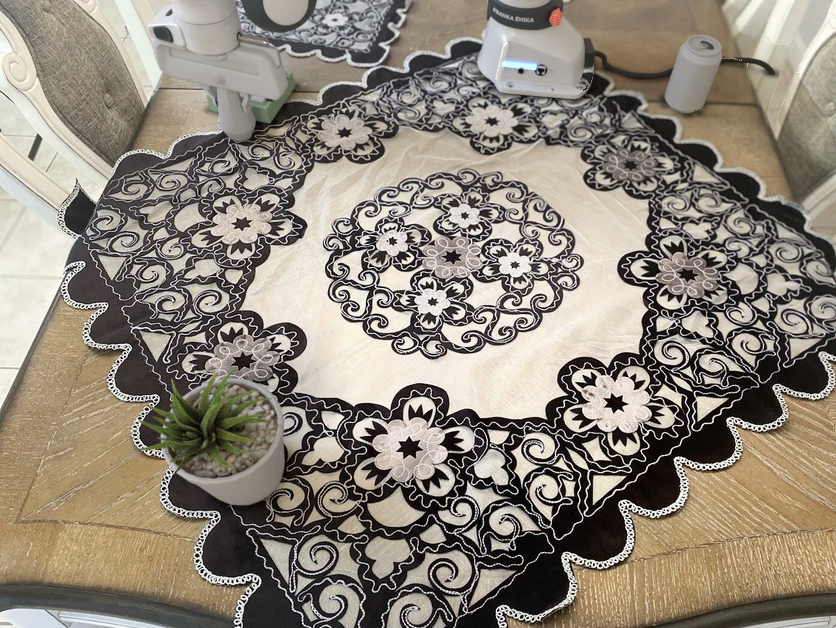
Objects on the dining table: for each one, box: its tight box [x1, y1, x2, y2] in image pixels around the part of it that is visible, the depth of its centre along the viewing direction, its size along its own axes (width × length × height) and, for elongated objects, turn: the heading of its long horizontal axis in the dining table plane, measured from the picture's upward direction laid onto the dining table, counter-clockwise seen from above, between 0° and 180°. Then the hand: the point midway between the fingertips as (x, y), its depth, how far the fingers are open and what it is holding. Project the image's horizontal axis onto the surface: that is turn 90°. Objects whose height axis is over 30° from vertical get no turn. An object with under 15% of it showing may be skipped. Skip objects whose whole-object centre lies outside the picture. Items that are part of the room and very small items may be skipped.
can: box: [664, 34, 723, 114], centre depth 122 cm, size 8×8×12 cm
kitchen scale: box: [206, 70, 296, 124], centre depth 118 cm, size 11×11×4 cm
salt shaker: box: [210, 72, 257, 142], centre depth 109 cm, size 6×6×13 cm
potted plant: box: [138, 366, 286, 506], centre depth 73 cm, size 13×14×20 cm
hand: (233, 108), depth 110 cm, fingers closed on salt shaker, 3 cm apart
